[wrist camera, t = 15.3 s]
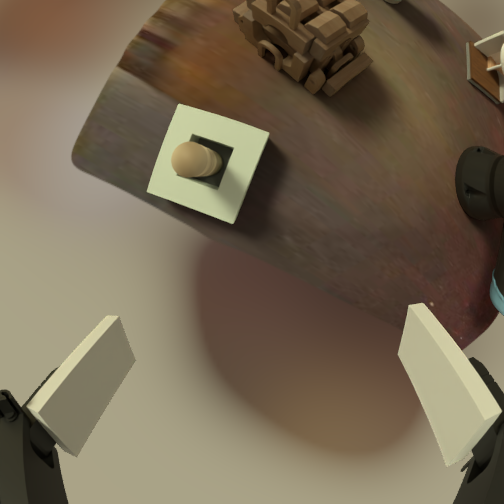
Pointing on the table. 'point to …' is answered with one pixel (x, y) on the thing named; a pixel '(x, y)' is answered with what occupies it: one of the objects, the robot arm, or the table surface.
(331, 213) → the table surface
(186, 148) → the dowel
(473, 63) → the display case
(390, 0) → the coffee cup
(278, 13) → the wooden puzzle
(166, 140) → the socket block
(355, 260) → the table surface
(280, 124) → the table surface
